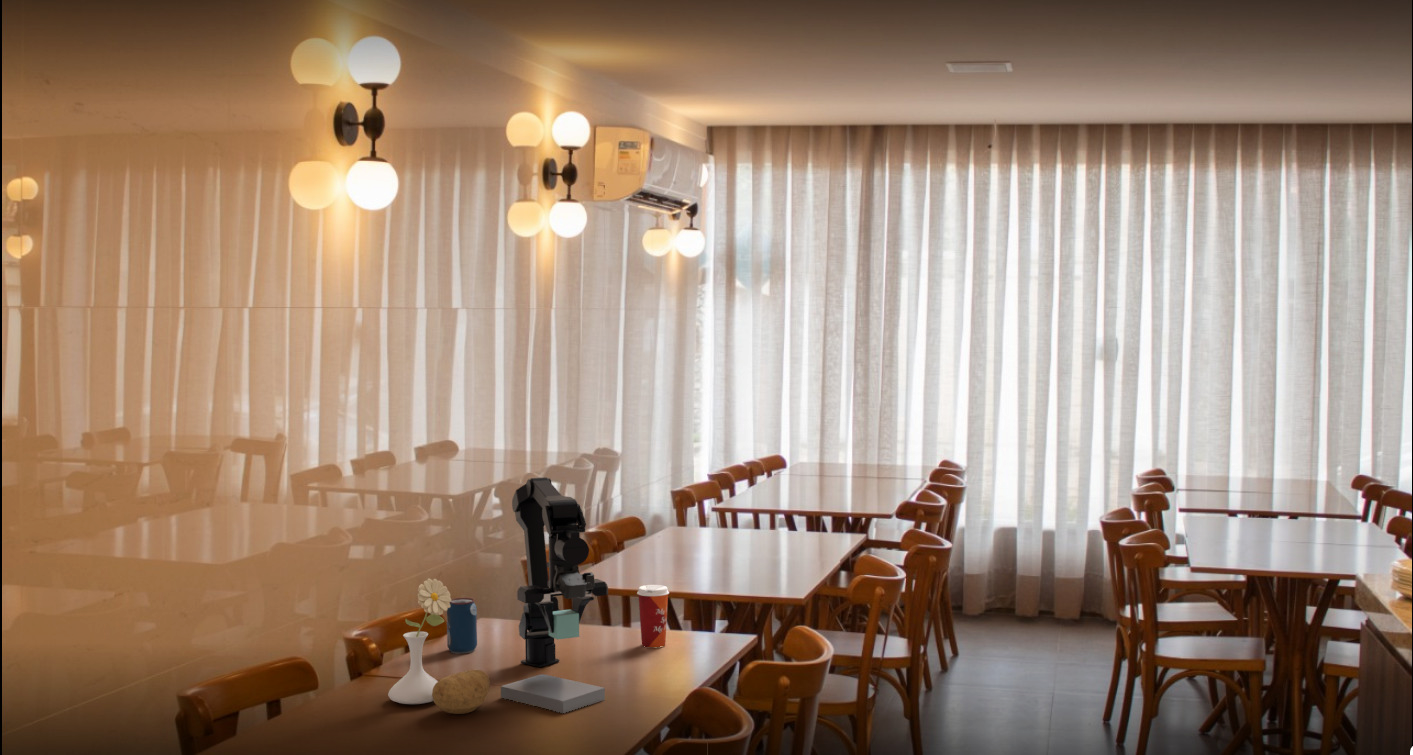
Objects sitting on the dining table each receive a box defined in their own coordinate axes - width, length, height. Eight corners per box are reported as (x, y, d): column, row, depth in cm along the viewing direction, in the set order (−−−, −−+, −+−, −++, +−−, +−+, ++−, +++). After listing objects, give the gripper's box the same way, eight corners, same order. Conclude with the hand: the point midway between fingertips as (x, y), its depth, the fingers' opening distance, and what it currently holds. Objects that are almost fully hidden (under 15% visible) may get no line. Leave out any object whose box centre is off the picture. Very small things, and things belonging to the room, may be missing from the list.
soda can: (483, 649, 313) (482, 599, 313) (463, 655, 307) (462, 604, 307) (461, 645, 317) (460, 596, 316) (441, 651, 311) (440, 601, 311)
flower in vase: (396, 712, 263) (394, 587, 262) (382, 697, 273) (380, 577, 272) (459, 703, 269) (458, 581, 268) (444, 689, 279) (442, 572, 278)
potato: (504, 705, 267) (503, 666, 266) (461, 724, 254) (460, 683, 254) (464, 699, 271) (464, 661, 271) (421, 718, 259) (420, 677, 258)
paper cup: (665, 650, 311) (665, 591, 311) (634, 648, 313) (633, 590, 312) (673, 642, 319) (672, 584, 318) (642, 640, 321) (641, 583, 320)
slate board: (500, 698, 272) (500, 686, 272) (542, 685, 281) (542, 673, 281) (563, 713, 261) (563, 701, 261) (604, 699, 270) (604, 687, 270)
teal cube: (548, 635, 283) (548, 611, 282) (570, 632, 285) (570, 609, 285) (557, 639, 278) (556, 616, 278) (579, 636, 280) (578, 613, 280)
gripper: (533, 567, 270) (535, 643, 270) (617, 559, 278) (619, 633, 279) (515, 560, 280) (517, 633, 280) (597, 552, 288) (598, 623, 289)
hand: (563, 631), depth 281 cm, fingers closed on teal cube, 5 cm apart
